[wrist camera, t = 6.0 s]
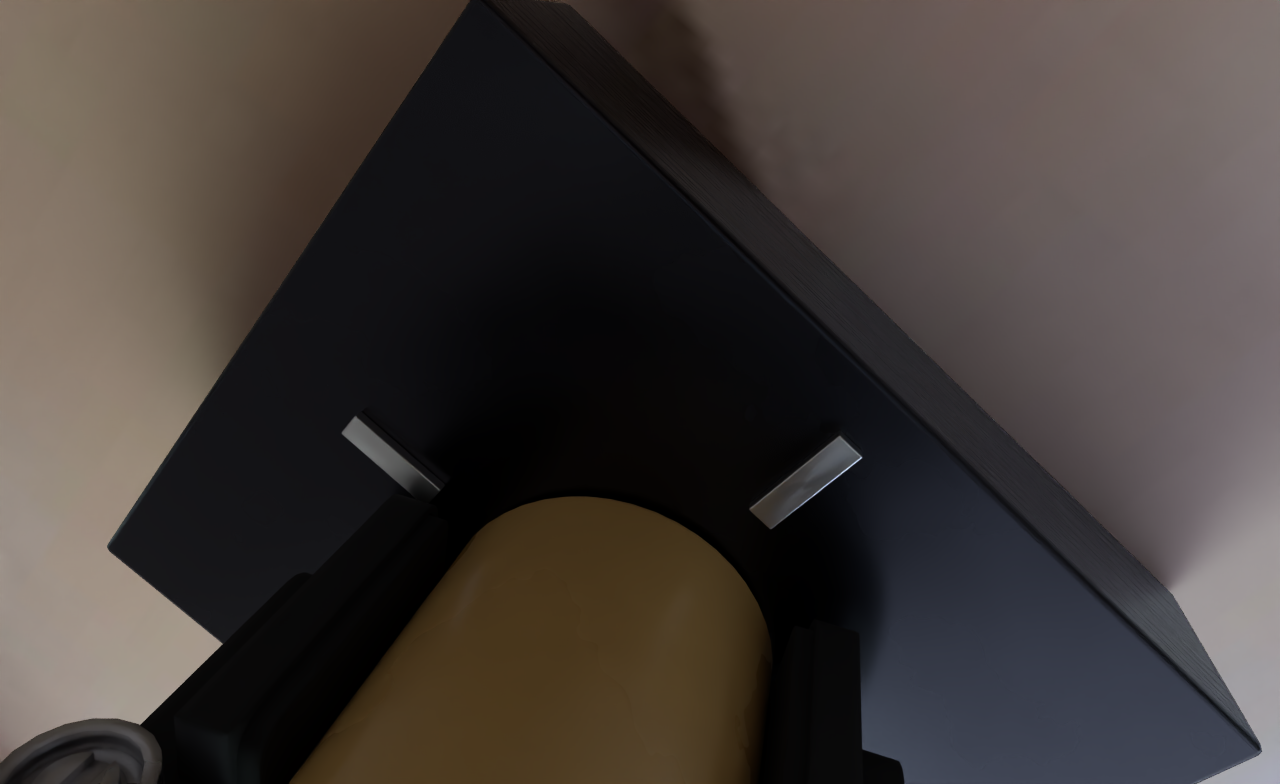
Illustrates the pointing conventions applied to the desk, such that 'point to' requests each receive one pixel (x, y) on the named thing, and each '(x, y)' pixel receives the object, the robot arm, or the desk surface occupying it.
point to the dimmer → (670, 422)
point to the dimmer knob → (566, 662)
